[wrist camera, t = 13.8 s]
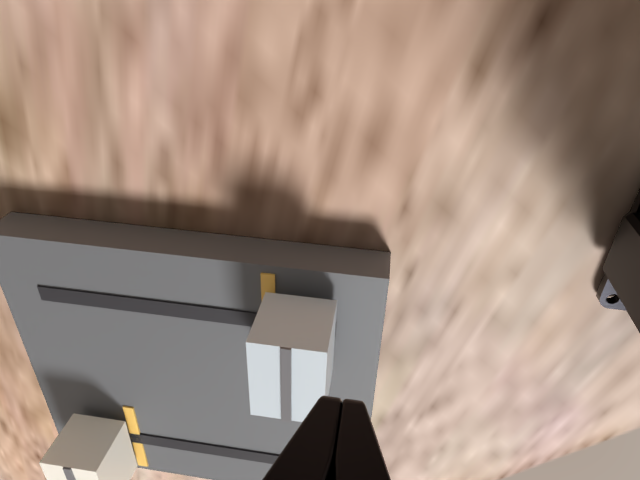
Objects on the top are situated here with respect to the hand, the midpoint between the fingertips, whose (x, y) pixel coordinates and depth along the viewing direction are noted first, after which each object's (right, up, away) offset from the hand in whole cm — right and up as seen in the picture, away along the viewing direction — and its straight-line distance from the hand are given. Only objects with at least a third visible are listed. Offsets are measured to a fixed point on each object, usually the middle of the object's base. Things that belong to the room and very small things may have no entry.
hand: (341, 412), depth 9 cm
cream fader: (-12, -8, +19) cm, 24 cm away
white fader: (-1, -1, +12) cm, 12 cm away
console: (-6, -3, +17) cm, 19 cm away
